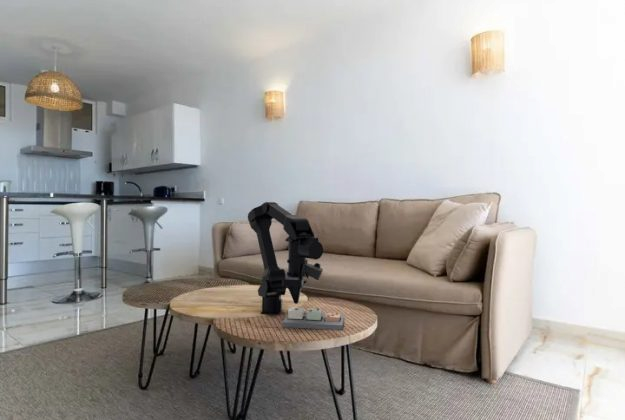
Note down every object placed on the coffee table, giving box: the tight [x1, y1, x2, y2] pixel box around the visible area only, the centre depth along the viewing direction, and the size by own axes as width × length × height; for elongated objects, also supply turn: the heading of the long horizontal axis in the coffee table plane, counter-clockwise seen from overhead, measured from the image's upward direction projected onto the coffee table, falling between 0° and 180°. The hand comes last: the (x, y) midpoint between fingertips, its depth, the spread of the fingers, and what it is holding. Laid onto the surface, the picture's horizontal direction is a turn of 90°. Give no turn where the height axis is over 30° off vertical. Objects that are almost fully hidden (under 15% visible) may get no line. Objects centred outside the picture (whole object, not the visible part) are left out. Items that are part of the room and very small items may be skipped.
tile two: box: [306, 307, 323, 320], centre depth 130 cm, size 4×4×3 cm
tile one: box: [287, 306, 305, 319], centre depth 131 cm, size 4×4×3 cm
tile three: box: [325, 312, 341, 322], centre depth 129 cm, size 4×4×3 cm
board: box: [281, 312, 345, 331], centre depth 130 cm, size 19×12×2 cm, turn 82°
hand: (296, 303), depth 131 cm, fingers closed
